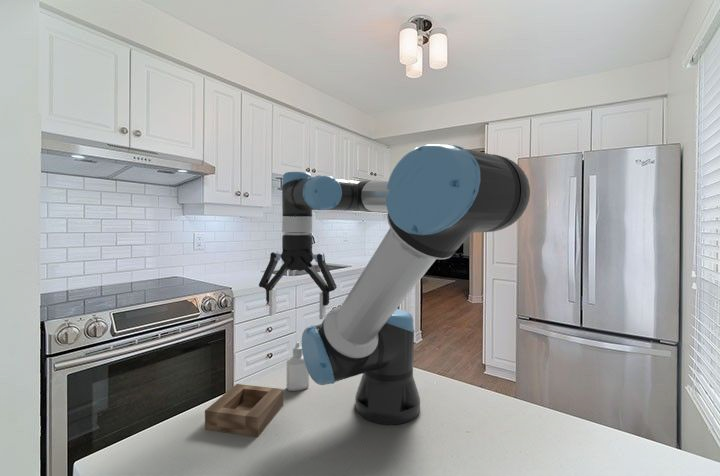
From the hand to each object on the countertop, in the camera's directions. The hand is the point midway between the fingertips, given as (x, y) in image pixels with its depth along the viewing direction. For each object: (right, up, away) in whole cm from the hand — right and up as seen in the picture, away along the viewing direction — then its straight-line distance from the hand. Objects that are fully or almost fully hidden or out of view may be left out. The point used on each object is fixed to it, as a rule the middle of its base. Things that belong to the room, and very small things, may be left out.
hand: (297, 316), depth 89 cm
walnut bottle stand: (-9, -19, -13) cm, 25 cm away
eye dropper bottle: (0, -19, +1) cm, 19 cm away
